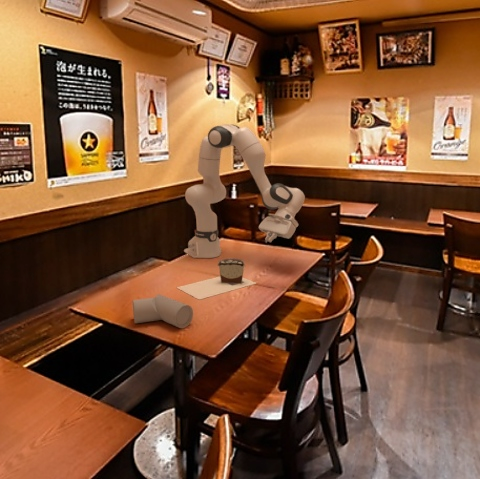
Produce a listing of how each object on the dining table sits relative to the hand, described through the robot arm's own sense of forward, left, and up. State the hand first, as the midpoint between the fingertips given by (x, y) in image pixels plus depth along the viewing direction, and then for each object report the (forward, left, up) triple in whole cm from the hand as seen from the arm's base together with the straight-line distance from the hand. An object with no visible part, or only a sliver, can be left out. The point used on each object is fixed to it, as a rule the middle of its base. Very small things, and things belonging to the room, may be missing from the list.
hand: (267, 241), depth 216 cm
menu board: (0, -30, -16) cm, 34 cm away
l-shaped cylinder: (+19, -67, -16) cm, 72 cm away
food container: (0, -21, -16) cm, 26 cm away
